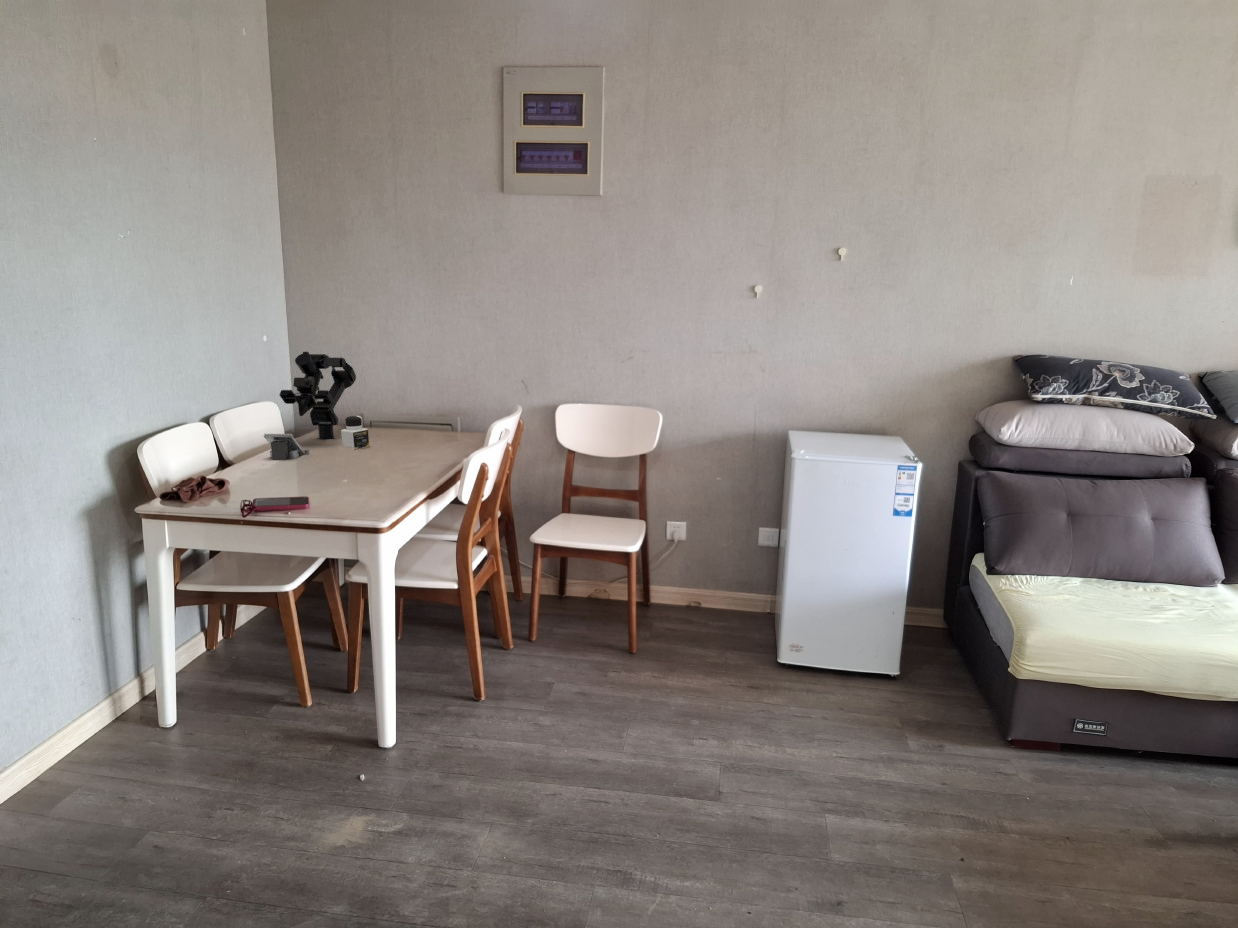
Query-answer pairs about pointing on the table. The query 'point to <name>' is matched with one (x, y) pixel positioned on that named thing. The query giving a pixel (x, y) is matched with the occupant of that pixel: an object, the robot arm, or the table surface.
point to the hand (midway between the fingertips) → (300, 415)
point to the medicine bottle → (355, 433)
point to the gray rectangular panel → (285, 437)
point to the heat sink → (283, 451)
